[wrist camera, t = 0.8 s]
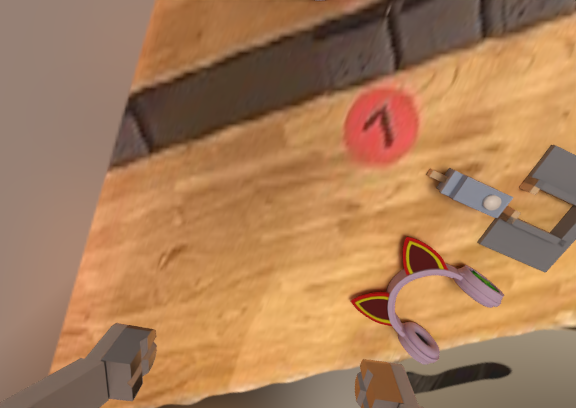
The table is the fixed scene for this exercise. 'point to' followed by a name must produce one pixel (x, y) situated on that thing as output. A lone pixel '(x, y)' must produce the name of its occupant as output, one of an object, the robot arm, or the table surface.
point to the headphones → (416, 265)
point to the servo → (471, 192)
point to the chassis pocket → (530, 239)
